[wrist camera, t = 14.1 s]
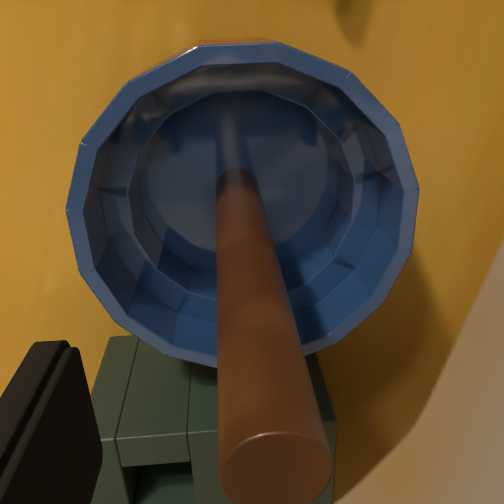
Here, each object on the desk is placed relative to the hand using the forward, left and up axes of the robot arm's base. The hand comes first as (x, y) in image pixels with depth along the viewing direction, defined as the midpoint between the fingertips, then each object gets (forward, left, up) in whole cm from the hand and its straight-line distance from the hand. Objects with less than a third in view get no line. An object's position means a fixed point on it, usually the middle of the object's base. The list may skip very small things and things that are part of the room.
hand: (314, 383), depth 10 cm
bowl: (+1, 0, -14) cm, 14 cm away
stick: (+1, 0, -13) cm, 13 cm away
